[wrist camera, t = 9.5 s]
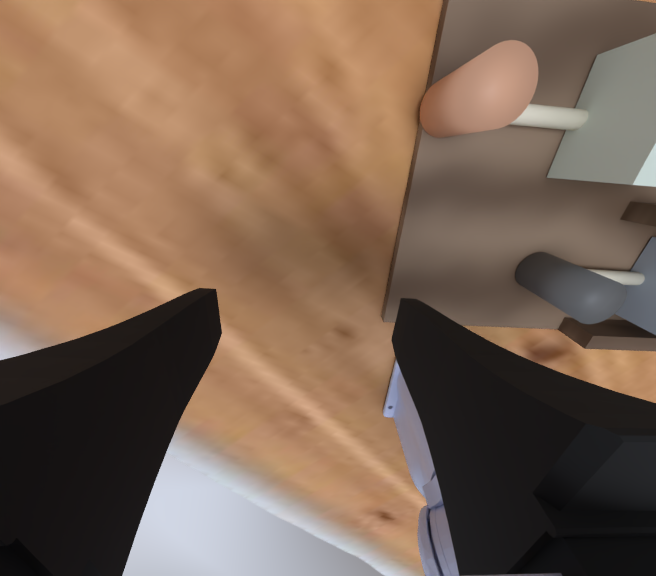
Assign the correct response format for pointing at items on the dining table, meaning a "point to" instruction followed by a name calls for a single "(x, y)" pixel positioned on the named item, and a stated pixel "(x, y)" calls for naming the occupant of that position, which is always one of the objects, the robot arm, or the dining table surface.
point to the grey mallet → (595, 288)
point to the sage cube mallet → (559, 109)
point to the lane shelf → (519, 180)
